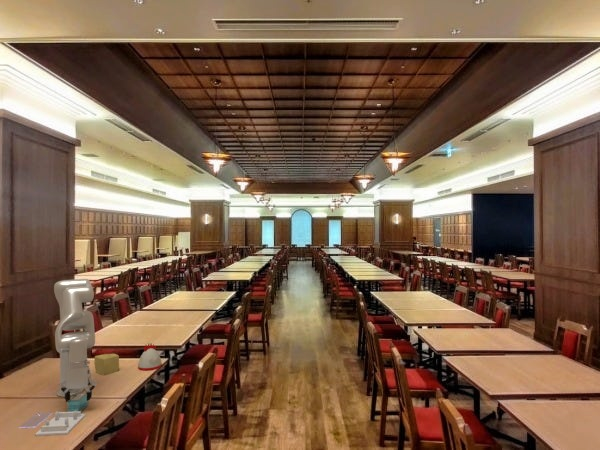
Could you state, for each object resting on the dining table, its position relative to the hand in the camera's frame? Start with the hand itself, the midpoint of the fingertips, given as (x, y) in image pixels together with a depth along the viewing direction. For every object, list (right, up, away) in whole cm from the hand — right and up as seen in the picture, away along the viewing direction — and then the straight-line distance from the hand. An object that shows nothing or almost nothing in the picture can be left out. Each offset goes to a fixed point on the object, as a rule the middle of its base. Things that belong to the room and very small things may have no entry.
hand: (78, 400), depth 197 cm
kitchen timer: (+11, -6, +63) cm, 64 cm away
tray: (+1, -4, -15) cm, 16 cm away
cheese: (-12, -6, +55) cm, 56 cm away
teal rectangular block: (0, -5, +1) cm, 5 cm away
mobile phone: (-14, -5, -10) cm, 18 cm away
